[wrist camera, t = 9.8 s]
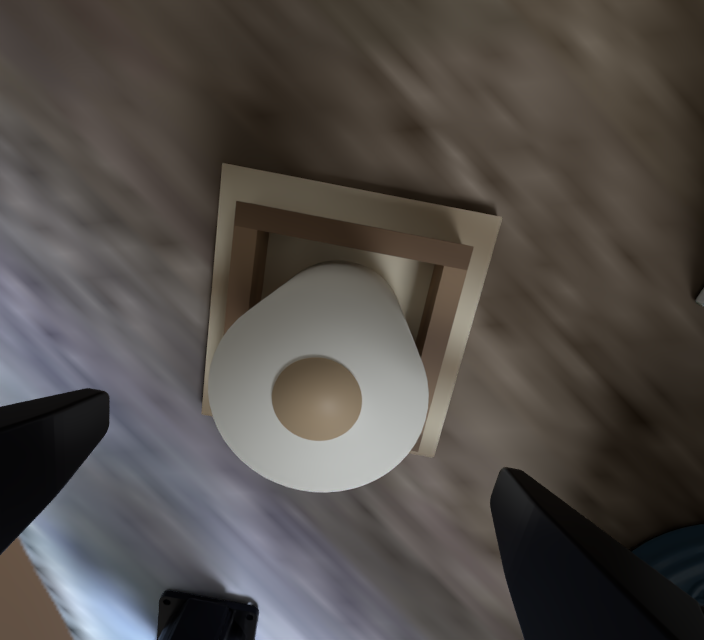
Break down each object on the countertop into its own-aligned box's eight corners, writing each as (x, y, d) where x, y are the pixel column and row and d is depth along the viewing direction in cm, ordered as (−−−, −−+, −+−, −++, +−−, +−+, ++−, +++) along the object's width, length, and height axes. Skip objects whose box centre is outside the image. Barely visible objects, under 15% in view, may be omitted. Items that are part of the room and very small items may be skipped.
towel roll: (387, 393, 19) (401, 511, 11) (268, 370, 19) (198, 473, 11) (415, 273, 17) (454, 316, 10) (284, 248, 17) (216, 270, 10)
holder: (431, 451, 21) (440, 483, 18) (206, 408, 20) (183, 434, 18) (498, 217, 17) (520, 216, 15) (227, 164, 17) (202, 154, 14)
